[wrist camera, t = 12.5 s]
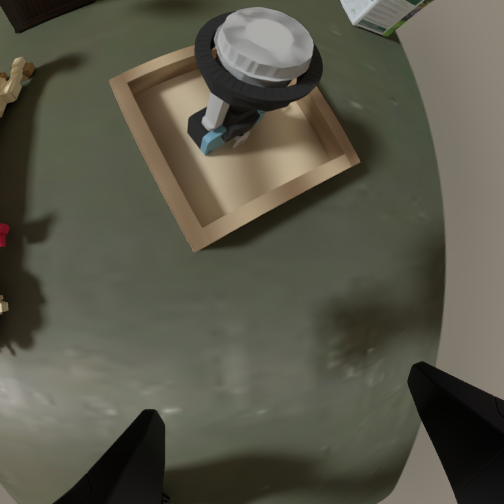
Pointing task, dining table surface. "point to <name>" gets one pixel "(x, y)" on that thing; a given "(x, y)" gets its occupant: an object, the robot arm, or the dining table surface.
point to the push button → (250, 72)
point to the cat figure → (3, 94)
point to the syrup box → (382, 13)
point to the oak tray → (225, 149)
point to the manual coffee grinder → (37, 11)
